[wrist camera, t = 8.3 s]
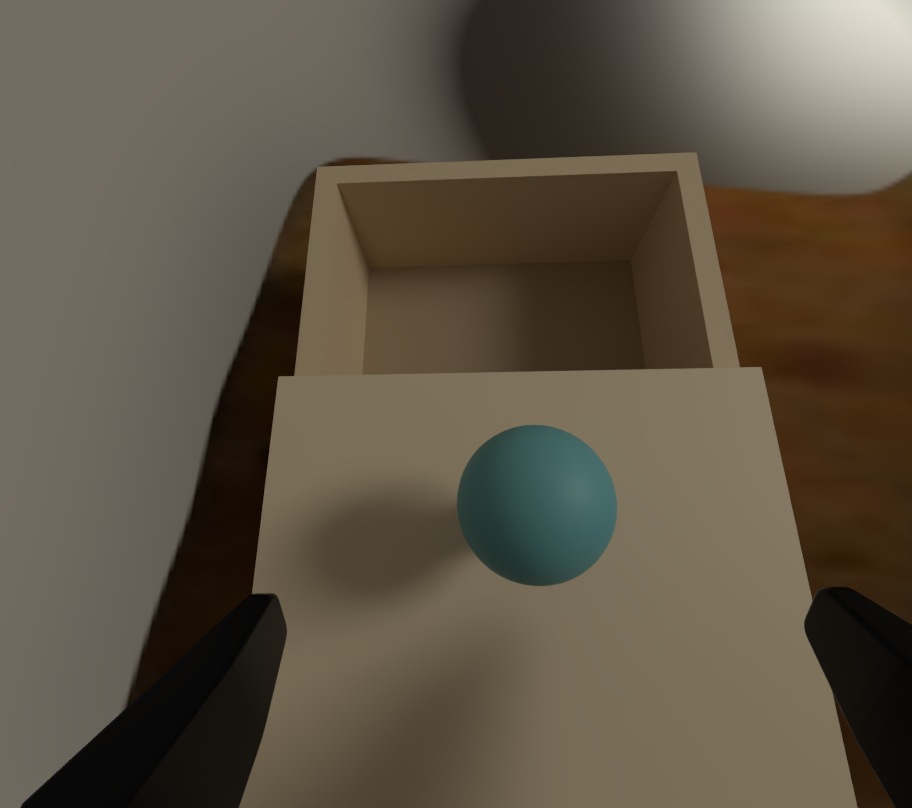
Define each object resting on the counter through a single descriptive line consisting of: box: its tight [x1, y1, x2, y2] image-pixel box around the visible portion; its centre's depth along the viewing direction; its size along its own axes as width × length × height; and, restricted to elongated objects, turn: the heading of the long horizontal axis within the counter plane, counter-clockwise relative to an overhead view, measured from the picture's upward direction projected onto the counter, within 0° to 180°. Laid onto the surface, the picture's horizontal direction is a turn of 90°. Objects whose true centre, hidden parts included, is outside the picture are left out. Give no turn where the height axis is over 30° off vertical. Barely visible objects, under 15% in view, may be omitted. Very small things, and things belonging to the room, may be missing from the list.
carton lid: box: [239, 367, 857, 808], centre depth 10 cm, size 12×14×6 cm
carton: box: [294, 153, 740, 376], centre depth 18 cm, size 12×14×6 cm
